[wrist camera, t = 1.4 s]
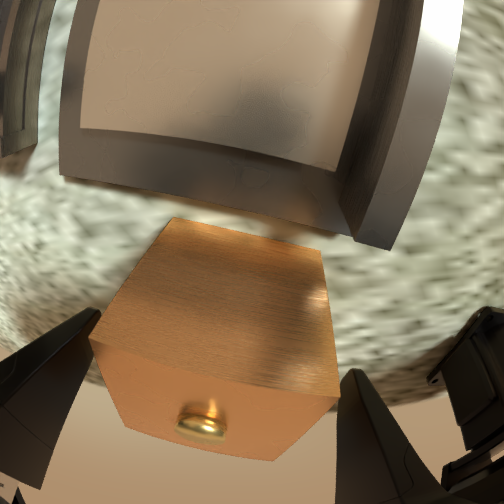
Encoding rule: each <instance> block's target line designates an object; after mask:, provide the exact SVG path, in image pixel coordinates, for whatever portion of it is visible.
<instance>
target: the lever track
mask: <svg viewBox="0 0 504 504" xmlns="http://www.w3.org/2000/svg"><path fill="white" fill-rule="evenodd" d="M55 1H56V0H0V158H4V157H6V156H8V155H10V154H12V153H14V152H17V151H19V150H21V149H24V148H26V147H28V146H31V145H33V144H36V143H37V120H38V99H39V86H40V76H41V68H42V61H43V54H44V48H45V43H46V38H47V33H48V28H49V24H50V20H51V16H52V12H53V8H54V4H55Z"/></svg>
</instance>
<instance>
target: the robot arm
mask: <svg viewBox="0 0 504 504" xmlns="http://www.w3.org/2000/svg"><path fill="white" fill-rule="evenodd" d="M101 317H102V315H101V312H100V310H99V309H96V308H93V307H88V308H86V309H85V310H83V311H81V312H80V313H78V314H76V315H75V316H73V317H71V318H70V319H68V320H66V321H65V322H63V323H61V324H60V325H58V326H57V327H55V328H53V329H52V330H50V331H48V332H47V333H45V334H44V335H42V336H40V337H39V338H37V339H36V340H34V341H32V342H31V343H29V344H28V345H26V346H24V347H23V348H21V349H20V350H18V351H17V352H15V353H13V354H12V355H10V356H9V357H7V358H5V359H4V360H3V361H1V362H0V504H25V502H24V499H23V497H22V495H21V493H20V490H19V488H18V484H19V481H20V482H22V483H24V484H27V485H29V486H31V487H34V488H36V489H39V490H40V489H41V486H42V483H43V480H44V477H45V474H46V471H47V468H48V465H49V462H50V459H51V456H52V454H53V450H54V448H55V445H56V443H57V440H58V437H59V435H60V432H61V430H62V427H63V425H64V422H65V420H66V418H67V415H68V413H69V410H70V408H71V406H72V404H73V401H74V399H75V397H76V395H77V392H78V390H79V388H80V386H81V384H82V382H83V379H84V377H85V375H86V373H87V371H88V369H89V367H90V364H91V362H92V359H93V356H94V353H93V350H92V347H91V344H90V341H89V338H88V337H89V335H90V334H91V332H92V331H93V329H94V327H95V326H96V324H97V323H98V321H99V320H100V318H101ZM427 383H428V385H430V386H440V385H445V386H446V389H447V392H448V395H449V398H450V402H451V405H452V408H453V412H454V415H455V419H456V423H457V425H458V426H460V428H461V432H462V436H463V440H464V445H465V449H466V451H468V450H471V452H470V453H468V454H467V455H465V456H463V457H461V458H460V459H458V460H456V461H453V462H450V463H448V464H446V465H444V466H443V469H442V478H441V485H440V484H439V482H438V481H437V480H436V479H435V477H434V476H433V475H432V474H431V473H430V471H429V470H428V468H427V467H426V466H425V464H424V463H423V462H422V460H421V459H420V458H419V456H418V455H417V453H416V451H415V450H414V448H413V447H412V445H411V444H410V443H409V441H408V439H407V437H406V436H405V435H404V433H403V431H402V430H401V428H400V426H399V425H398V423H397V422H396V420H395V419H394V417H393V416H392V414H391V412H390V411H389V409H388V408H387V406H386V405H385V403H384V402H383V400H382V399H381V397H380V396H379V394H378V392H377V391H376V389H375V388H374V386H373V385H372V383H371V382H370V380H369V379H368V377H367V376H366V374H365V373H364V371H363V370H362V369H356V368H352V369H350V370H349V371H348V373H347V374H346V375H345V376H344V378H343V379H342V380H341V382H340V396H341V397H340V398H339V401H338V412H337V463H336V493H335V504H504V456H502V457H501V458H499V459H497V460H496V461H494V462H492V460H491V457H493V456H494V455H496V454H498V453H499V452H501V451H502V450H504V309H500V308H496V307H488V308H486V309H485V310H484V311H483V312H482V313H481V315H480V316H479V317H478V319H477V320H476V321H475V323H474V324H473V325H472V327H471V328H470V329H469V330H468V332H467V333H466V334H465V335H464V337H463V338H462V339H461V340H460V341H459V343H458V344H457V345H456V346H455V347H454V349H453V350H452V351H451V352H450V353H449V354H448V355H447V357H446V358H445V359H444V360H443V361H442V362H441V363H440V364H439V365H438V366H437V367H436V369H435V370H434V371H433V372H432V373H431V374H430V375H429V376H428V377H427Z"/></svg>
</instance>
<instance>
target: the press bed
mask: <svg viewBox="0 0 504 504" xmlns="http://www.w3.org/2000/svg"><path fill="white" fill-rule="evenodd" d="M462 8H463V0H78V2H77V6H76V10H75V13H74V17H73V21H72V26H71V30H70V35H69V40H68V45H67V51H66V57H65V63H64V70H63V78H62V87H61V99H60V114H59V172H60V175H64V176H70V177H77V178H83V179H89V180H95V181H101V182H107V183H113V184H118V185H124V186H129V187H135V188H140V189H145V190H151V191H156V192H161V193H166V194H171V195H176V196H181V197H186V198H191V199H196V200H200V201H205V202H210V203H214V204H219V205H224V206H228V207H233V208H237V209H241V210H246V211H250V212H255V213H259V214H263V215H267V216H271V217H276V218H280V219H284V220H288V221H292V222H296V223H300V224H304V225H308V226H312V227H316V228H320V229H324V230H328V231H331V232H335V233H339V234H343V235H346V236H350V237H353V239H354V241H355V242H359V243H363V244H366V245H370V246H373V247H377V248H381V249H384V250H388V251H390V250H391V248H392V246H393V244H394V242H395V240H396V238H397V236H398V233H399V231H400V229H401V227H402V225H403V222H404V220H405V218H406V216H407V213H408V211H409V209H410V206H411V204H412V201H413V199H414V197H415V194H416V192H417V189H418V187H419V184H420V181H421V179H422V176H423V173H424V171H425V168H426V165H427V162H428V160H429V157H430V154H431V151H432V148H433V145H434V142H435V139H436V135H437V132H438V129H439V126H440V122H441V119H442V115H443V112H444V108H445V104H446V100H447V96H448V92H449V88H450V84H451V79H452V75H453V70H454V65H455V60H456V54H457V48H458V42H459V35H460V27H461V19H462Z"/></svg>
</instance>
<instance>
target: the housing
mask: <svg viewBox="0 0 504 504" xmlns="http://www.w3.org/2000/svg"><path fill="white" fill-rule="evenodd" d="M88 338H89V341H90V344H91V347H92V350H93V353H94V356H95V358H96V361H97V364H98V366H99V369H100V372H101V374H102V377H103V379H104V381H105V384H106V386H107V389H108V391H109V393H110V395H111V398H112V400H113V402H114V404H115V406H116V409H117V410H118V413H119V415H120V417H121V419H122V421H123V423H124V425H125V427H128V428H130V429H133V430H136V431H139V432H142V433H144V434H147V435H151V436H154V437H157V438H160V439H163V440H167V441H170V442H174V443H177V444H181V445H185V446H189V447H193V448H197V449H201V450H205V451H210V452H215V453H220V454H225V455H231V456H237V457H243V458H250V459H258V460H266V461H274V460H275V459H276V458H278V457H279V456H280V455H281V454H282V453H283V452H285V451H286V450H287V449H288V448H289V447H290V446H292V445H293V444H294V443H295V442H296V441H297V440H298V439H299V438H300V437H301V436H302V435H303V434H305V433H306V432H307V431H308V430H309V429H310V428H311V427H312V426H313V425H314V424H315V423H316V422H317V421H318V420H319V419H320V418H321V417H322V416H323V415H324V414H325V413H326V412H327V411H328V410H329V409H330V408H331V407H332V406H333V405H334V404H335V403H336V402H337V401H338V399H339V398H340V397H341V396H340V385H339V375H338V366H337V357H336V349H335V341H334V334H333V326H332V319H331V312H330V306H329V299H328V293H327V287H326V281H325V275H324V269H323V264H322V258H321V253H320V251H319V250H315V249H311V248H307V247H302V246H298V245H294V244H290V243H286V242H281V241H277V240H273V239H269V238H265V237H260V236H256V235H252V234H247V233H243V232H239V231H234V230H230V229H226V228H221V227H217V226H212V225H208V224H203V223H199V222H194V221H190V220H185V219H181V218H176V217H173V218H172V220H171V221H170V222H169V223H168V225H167V226H166V227H165V228H164V230H163V231H162V232H161V234H160V235H159V236H158V237H157V239H156V240H155V241H154V243H153V244H152V245H151V247H150V248H149V249H148V251H147V252H146V253H145V255H144V256H143V257H142V259H141V260H140V261H139V263H138V264H137V266H136V267H135V268H134V270H133V271H132V273H131V274H130V275H129V277H128V278H127V280H126V281H125V282H124V284H123V285H122V287H121V288H120V290H119V291H118V293H117V294H116V295H115V297H114V298H113V300H112V301H111V303H110V304H109V306H108V307H107V309H106V310H105V312H104V313H103V315H102V317H101V318H100V320H99V321H98V323H97V324H96V326H95V327H94V329H93V331H92V332H91V334H90V335H89V337H88Z"/></svg>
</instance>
